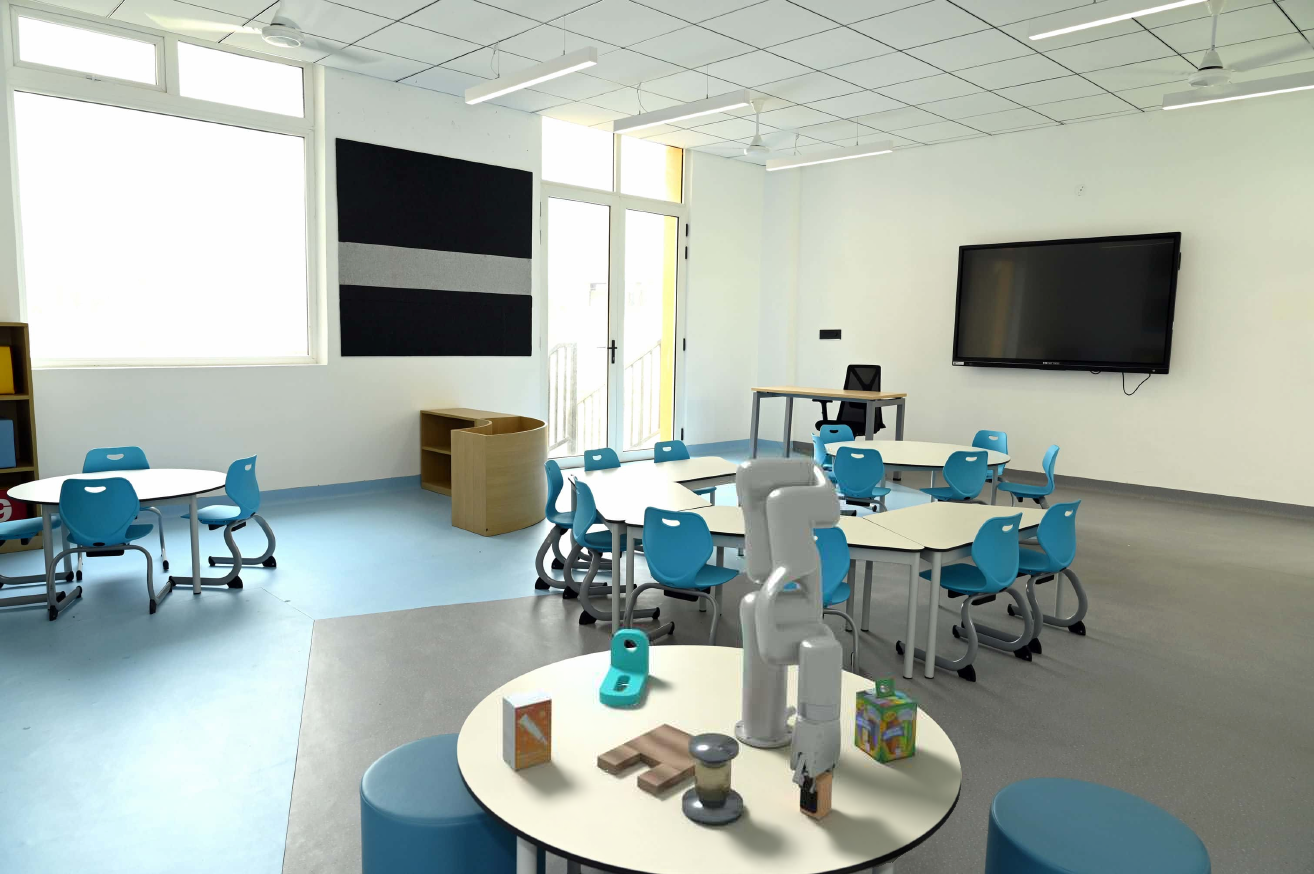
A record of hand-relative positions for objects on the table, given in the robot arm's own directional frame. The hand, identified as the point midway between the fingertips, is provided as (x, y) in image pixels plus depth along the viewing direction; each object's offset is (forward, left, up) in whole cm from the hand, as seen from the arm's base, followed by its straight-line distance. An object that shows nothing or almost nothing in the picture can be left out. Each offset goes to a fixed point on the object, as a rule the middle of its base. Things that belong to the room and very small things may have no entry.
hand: (815, 803), depth 146 cm
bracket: (-14, -62, -2) cm, 64 cm away
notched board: (+6, -32, -1) cm, 33 cm away
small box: (+24, -52, -2) cm, 57 cm away
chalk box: (-30, -2, -2) cm, 30 cm away
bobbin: (+12, -14, -1) cm, 18 cm away
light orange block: (0, 0, -1) cm, 1 cm away
